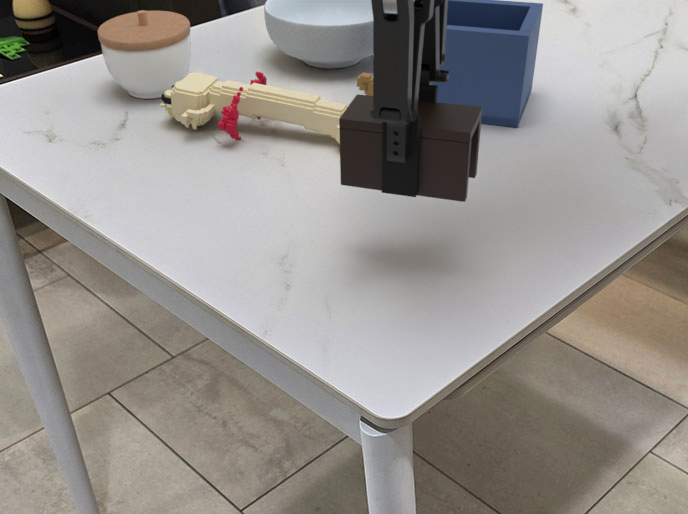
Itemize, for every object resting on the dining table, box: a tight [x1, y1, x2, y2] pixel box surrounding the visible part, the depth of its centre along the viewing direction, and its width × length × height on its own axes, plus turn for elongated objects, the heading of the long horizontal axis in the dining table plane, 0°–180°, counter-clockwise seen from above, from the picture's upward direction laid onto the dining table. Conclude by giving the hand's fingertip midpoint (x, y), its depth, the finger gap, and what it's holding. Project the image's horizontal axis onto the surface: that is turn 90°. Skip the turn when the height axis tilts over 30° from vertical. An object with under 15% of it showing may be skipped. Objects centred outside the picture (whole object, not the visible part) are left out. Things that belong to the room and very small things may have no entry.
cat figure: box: [159, 71, 373, 145], centre depth 90 cm, size 10×9×25 cm
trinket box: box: [97, 9, 192, 100], centre depth 101 cm, size 11×11×9 cm
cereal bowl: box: [263, 0, 373, 69], centre depth 107 cm, size 17×17×7 cm
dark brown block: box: [339, 94, 482, 203], centre depth 66 cm, size 10×5×6 cm, turn 69°
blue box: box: [433, 0, 544, 128], centre depth 94 cm, size 15×10×10 cm, turn 69°
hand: (408, 175), depth 68 cm, fingers closed on dark brown block, 5 cm apart
